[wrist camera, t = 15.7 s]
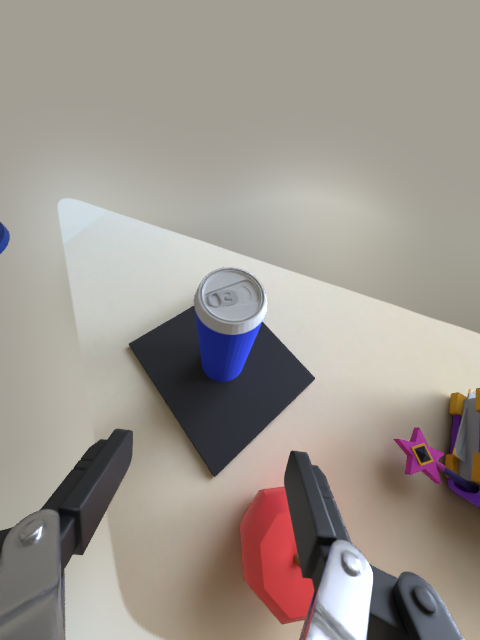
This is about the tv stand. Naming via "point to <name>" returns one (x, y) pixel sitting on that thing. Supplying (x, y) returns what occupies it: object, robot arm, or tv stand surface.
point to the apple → (274, 557)
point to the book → (452, 450)
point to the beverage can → (228, 320)
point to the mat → (220, 387)
